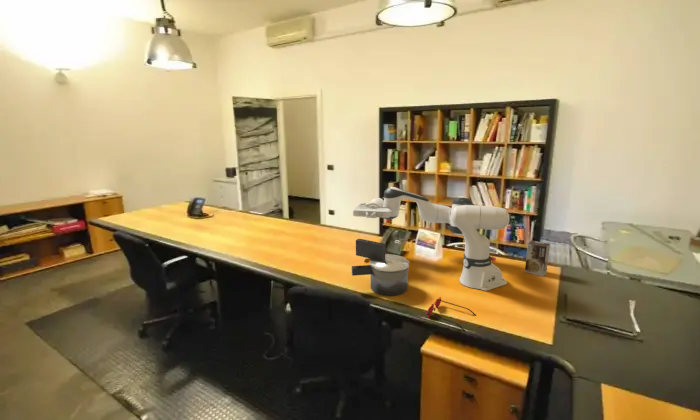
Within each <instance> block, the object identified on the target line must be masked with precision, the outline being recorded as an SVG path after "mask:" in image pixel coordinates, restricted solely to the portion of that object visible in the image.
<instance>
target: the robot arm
mask: <svg viewBox="0 0 700 420" xmlns="http://www.w3.org/2000/svg"><path fill="white" fill-rule="evenodd" d="M402 199H406V200H409V201H412V202H416V205H417V208H418V209H417V210H418V214H419V215H420V218H421V219H422V220H423V221H424V222H427V223H431V224H432V223H435V224H443V223H444V224H449V225H446V227H447V228H448V231H450V232H451V233H452V234H454V235H456V236H463V238H464V253H463V259H462V261H463V262H462V263H463V265H462V271H461V275H460V277H459V282H460V284H462V285H463V286H465V287H467V288H471V289H478V290H482V291H485V292H486V291H490V290H493V289H496V288H499V287H502V286H505V285H508V282H507V280H506V279H505V278H504V277H503V273H502V271H501V269H500V268H499V267H498V266H497V265H496V264H494V263H492V262H496V261H497V258H496V257H494V256H491V255H490V249H491V248H490V247H491V246H490V245H491V242H490V240H489V239H488V237H486V236H485V235H483V234H481V233H479V232H478V230H492V231H495V230H503V229H504V230H505V229H506V227H507V226H508V225H509V223H510V214H509V212H508V210H507V209H506V208H504V207H499V206H493V205H477V204H475V203H473V201H472V199H470V198H469V197H466V196H463V195H461V196H459V195H458V196H457V197H454V198H453V200H452V202H451V204H452V205H451V207H450V206H448V205H444V204H440V203H439V204H438V203H432V202H431V201H430V200H429V198H427V197H426V196H424V195H420V194H417V193H414V192H410V191H407V190H403V189H401V188H398V187H395V186H389V187H387V188H386V189H385V190H384V192H383V198H381V197H375V198H372V199H371V201H370V202H366V203H365V202H364V203H359V204H358V205H357V206H355V207H354V208H353V210H352V216H353V217H360V218H366V219H367V218H368V219H377V218H382V219H385V220H394V219H396V218H397V217H399V213H400V208H401V201H402Z"/></svg>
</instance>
